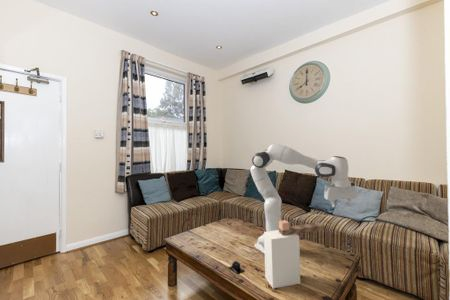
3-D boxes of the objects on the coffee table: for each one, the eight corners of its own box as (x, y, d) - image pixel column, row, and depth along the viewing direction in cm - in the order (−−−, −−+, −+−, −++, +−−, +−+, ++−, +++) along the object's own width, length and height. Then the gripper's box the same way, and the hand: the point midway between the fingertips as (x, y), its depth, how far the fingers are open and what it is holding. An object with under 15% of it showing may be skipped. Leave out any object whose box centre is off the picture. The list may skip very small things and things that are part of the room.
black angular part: (225, 268, 131) (225, 260, 131) (234, 263, 136) (234, 256, 136) (239, 277, 122) (238, 269, 122) (248, 272, 126) (247, 264, 126)
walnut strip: (282, 235, 114) (282, 231, 114) (278, 232, 118) (278, 227, 118) (324, 229, 120) (324, 225, 120) (319, 226, 124) (319, 222, 124)
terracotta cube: (282, 230, 114) (282, 223, 114) (279, 228, 118) (278, 221, 118) (289, 229, 115) (289, 222, 115) (285, 227, 119) (285, 220, 119)
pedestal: (272, 288, 110) (271, 239, 110) (265, 277, 120) (263, 231, 120) (300, 283, 114) (299, 235, 113) (290, 272, 124) (289, 228, 123)
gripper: (328, 185, 121) (329, 209, 121) (358, 183, 125) (359, 206, 125) (321, 183, 127) (322, 206, 127) (350, 181, 131) (350, 203, 132)
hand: (340, 206), depth 126 cm, fingers open, 8 cm apart
